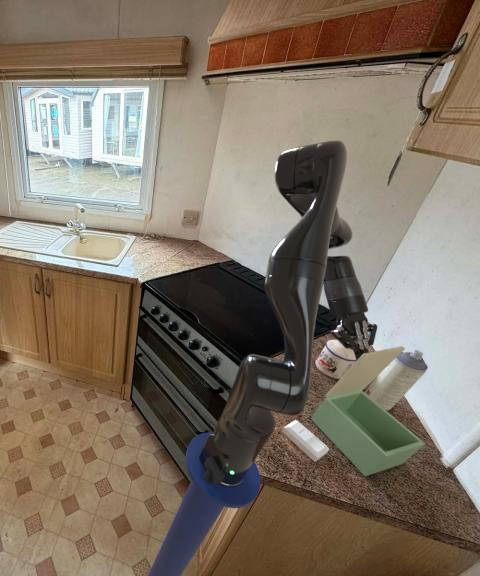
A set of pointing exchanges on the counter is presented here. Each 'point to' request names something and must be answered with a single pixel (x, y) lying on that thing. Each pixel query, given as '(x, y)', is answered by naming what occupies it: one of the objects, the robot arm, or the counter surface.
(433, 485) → the counter surface
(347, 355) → the teacup with lid
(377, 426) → the container
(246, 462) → the robot arm
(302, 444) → the white light switch
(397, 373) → the aerosol can
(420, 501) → the counter surface
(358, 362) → the lid
